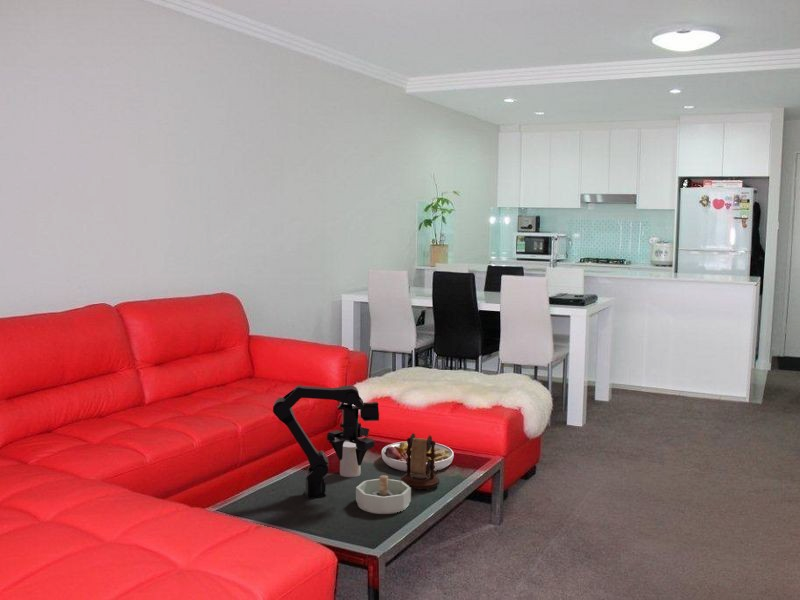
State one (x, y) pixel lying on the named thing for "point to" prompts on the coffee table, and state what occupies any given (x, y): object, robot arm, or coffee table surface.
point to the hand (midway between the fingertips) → (350, 462)
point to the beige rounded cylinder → (383, 486)
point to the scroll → (420, 464)
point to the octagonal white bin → (383, 505)
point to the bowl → (398, 457)
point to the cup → (349, 461)
